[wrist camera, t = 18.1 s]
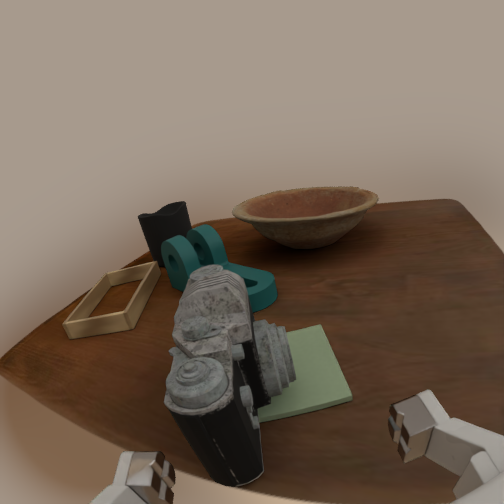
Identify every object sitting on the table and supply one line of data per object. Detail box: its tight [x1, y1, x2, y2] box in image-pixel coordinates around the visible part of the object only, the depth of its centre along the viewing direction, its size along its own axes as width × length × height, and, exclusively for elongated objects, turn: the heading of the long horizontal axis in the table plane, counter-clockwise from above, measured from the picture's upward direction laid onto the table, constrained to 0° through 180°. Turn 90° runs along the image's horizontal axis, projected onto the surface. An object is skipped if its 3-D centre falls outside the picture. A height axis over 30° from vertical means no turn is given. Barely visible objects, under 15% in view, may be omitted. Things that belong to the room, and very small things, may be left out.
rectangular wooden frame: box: [62, 261, 161, 339], centre depth 46 cm, size 11×18×2 cm, turn 3°
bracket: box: [161, 224, 278, 312], centre depth 42 cm, size 18×7×8 cm, turn 42°
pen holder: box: [138, 201, 192, 267], centre depth 60 cm, size 9×9×10 cm
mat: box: [258, 325, 352, 423], centre depth 25 cm, size 10×10×1 cm
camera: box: [164, 265, 296, 487], centre depth 20 cm, size 15×7×10 cm, turn 3°
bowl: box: [232, 187, 378, 249], centre depth 52 cm, size 24×24×8 cm
